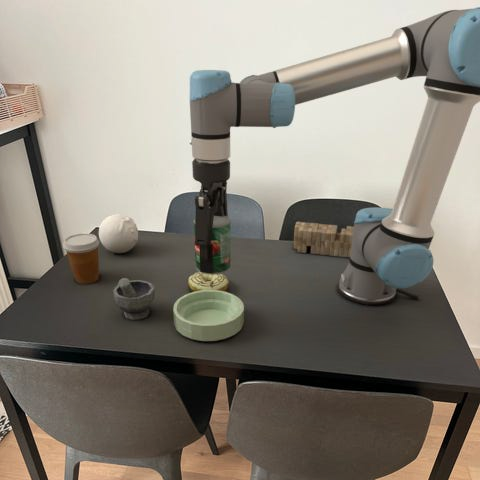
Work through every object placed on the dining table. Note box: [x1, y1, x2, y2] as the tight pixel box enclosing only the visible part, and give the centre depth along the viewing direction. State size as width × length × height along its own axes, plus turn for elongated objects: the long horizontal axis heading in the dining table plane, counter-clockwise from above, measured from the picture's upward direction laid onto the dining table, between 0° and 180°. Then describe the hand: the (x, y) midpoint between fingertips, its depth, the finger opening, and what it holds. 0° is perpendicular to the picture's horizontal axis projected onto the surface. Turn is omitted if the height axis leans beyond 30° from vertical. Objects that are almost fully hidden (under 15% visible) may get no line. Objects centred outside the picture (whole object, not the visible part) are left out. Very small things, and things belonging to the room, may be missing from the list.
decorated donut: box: [188, 271, 230, 292], centre depth 127 cm, size 10×11×4 cm
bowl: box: [172, 290, 245, 342], centre depth 111 cm, size 17×17×5 cm
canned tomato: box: [193, 215, 232, 275], centre depth 101 cm, size 8×8×11 cm
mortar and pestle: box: [112, 277, 156, 321], centre depth 113 cm, size 11×9×12 cm
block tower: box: [293, 221, 354, 259], centre depth 148 cm, size 8×8×29 cm
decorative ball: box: [98, 213, 139, 254], centre depth 146 cm, size 12×12×12 cm
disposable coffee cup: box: [62, 232, 100, 285], centre depth 129 cm, size 10×10×12 cm
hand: (213, 263), depth 104 cm, fingers closed on canned tomato, 8 cm apart
